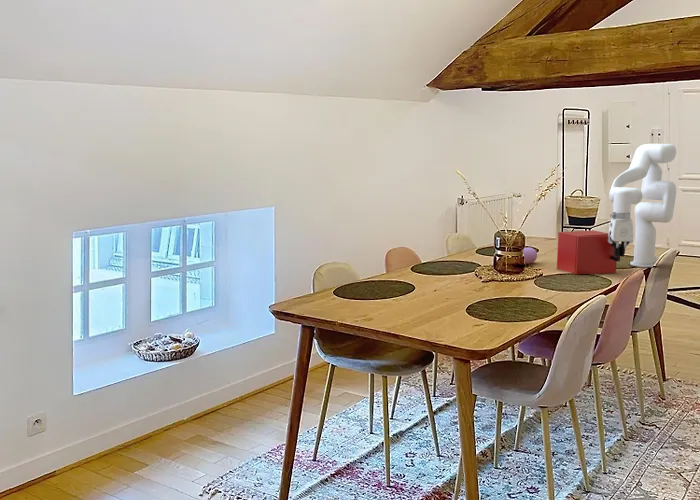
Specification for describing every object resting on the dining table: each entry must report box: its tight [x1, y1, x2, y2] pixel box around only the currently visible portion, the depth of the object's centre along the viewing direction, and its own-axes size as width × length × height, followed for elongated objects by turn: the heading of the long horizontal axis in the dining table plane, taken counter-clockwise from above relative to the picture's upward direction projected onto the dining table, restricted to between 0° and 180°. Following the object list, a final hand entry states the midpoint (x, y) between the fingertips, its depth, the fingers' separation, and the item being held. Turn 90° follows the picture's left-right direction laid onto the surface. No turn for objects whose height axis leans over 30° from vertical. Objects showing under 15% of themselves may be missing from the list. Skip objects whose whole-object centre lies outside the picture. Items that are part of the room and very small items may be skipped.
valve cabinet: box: [556, 230, 609, 275], centre depth 341 cm, size 14×20×18 cm
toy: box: [523, 247, 538, 265], centre depth 356 cm, size 8×9×20 cm
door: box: [574, 236, 621, 275], centre depth 329 cm, size 7×20×18 cm, turn 100°
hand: (619, 255), depth 326 cm, fingers closed on door
